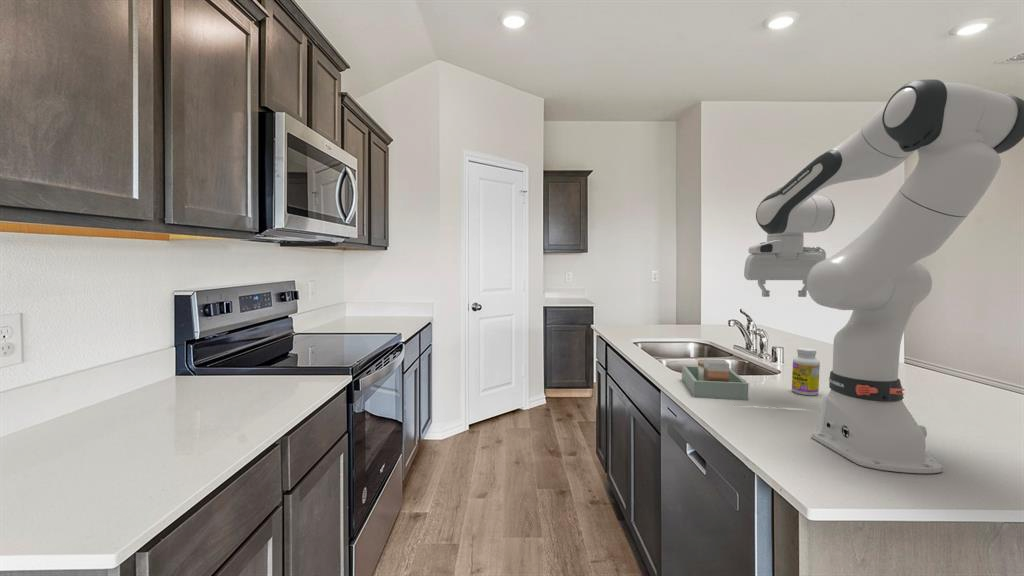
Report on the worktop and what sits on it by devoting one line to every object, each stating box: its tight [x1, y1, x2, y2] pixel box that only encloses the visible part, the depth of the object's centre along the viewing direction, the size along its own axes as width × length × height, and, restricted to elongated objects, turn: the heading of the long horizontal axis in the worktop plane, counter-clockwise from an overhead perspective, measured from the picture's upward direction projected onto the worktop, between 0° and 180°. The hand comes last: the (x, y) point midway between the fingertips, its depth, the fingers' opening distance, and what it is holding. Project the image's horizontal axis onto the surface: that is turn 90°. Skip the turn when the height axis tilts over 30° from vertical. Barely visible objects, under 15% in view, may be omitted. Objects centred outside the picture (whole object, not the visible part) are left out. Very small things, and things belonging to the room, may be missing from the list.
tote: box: [681, 365, 749, 401], centre depth 139 cm, size 20×14×5 cm
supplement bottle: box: [791, 347, 821, 396], centre depth 137 cm, size 7×7×13 cm
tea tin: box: [703, 358, 730, 382], centre depth 135 cm, size 6×6×9 cm
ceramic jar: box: [697, 359, 704, 381], centre depth 144 cm, size 6×6×7 cm
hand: (783, 296), depth 132 cm, fingers open, 8 cm apart
